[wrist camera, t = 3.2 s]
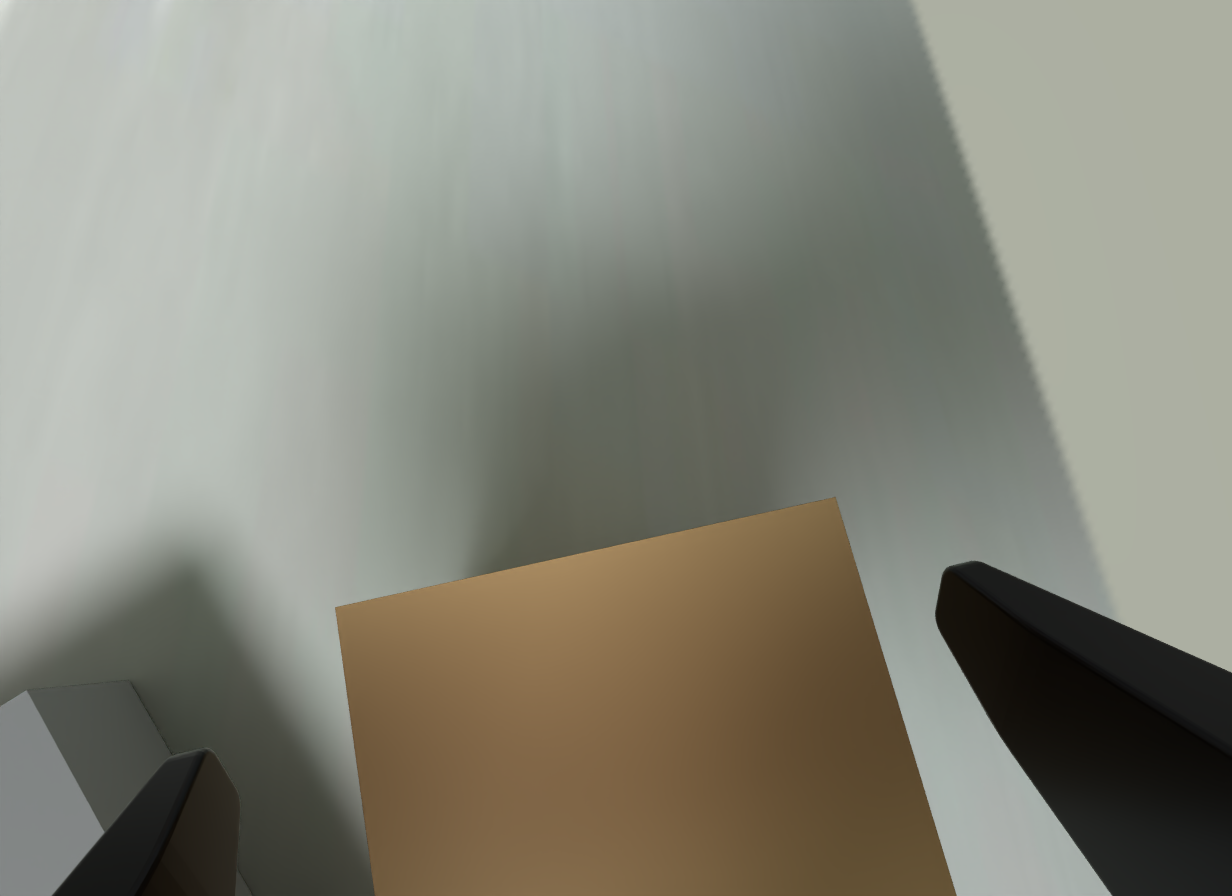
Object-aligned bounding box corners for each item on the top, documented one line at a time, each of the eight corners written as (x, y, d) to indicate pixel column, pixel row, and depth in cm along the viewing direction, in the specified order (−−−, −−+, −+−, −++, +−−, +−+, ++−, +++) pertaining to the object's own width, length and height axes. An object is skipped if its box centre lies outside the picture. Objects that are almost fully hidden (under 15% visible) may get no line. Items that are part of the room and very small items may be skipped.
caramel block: (738, 814, 15) (1004, 1049, 6) (496, 883, 14) (423, 1254, 6) (678, 573, 16) (835, 496, 8) (451, 626, 15) (335, 606, 7)
